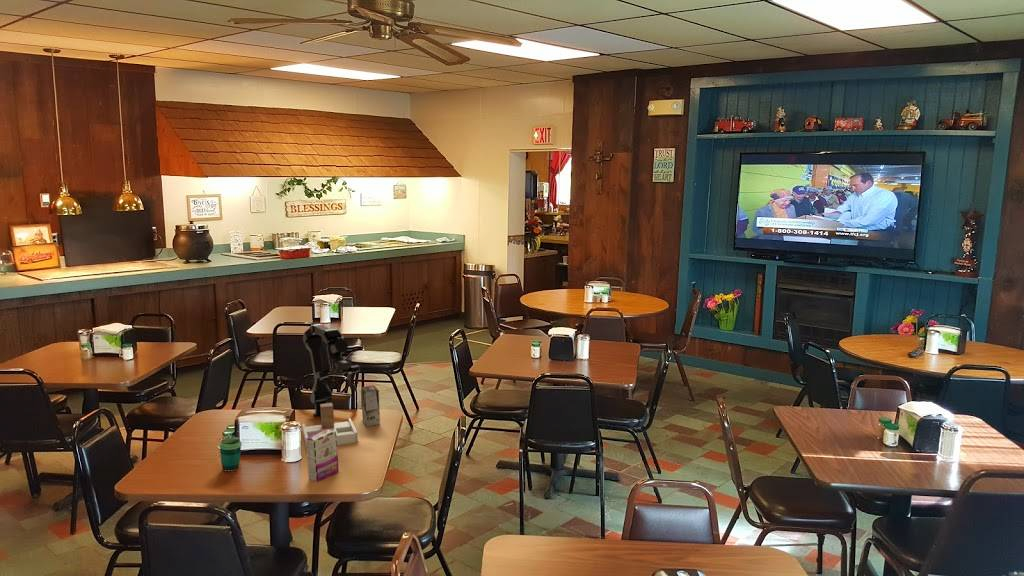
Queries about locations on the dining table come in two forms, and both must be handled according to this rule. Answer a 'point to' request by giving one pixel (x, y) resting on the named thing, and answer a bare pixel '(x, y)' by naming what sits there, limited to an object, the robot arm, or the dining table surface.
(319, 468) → the candy bar box
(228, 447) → the cup
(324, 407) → the block
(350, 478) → the dining table surface
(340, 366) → the robot arm
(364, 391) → the coffee box
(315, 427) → the trap box
